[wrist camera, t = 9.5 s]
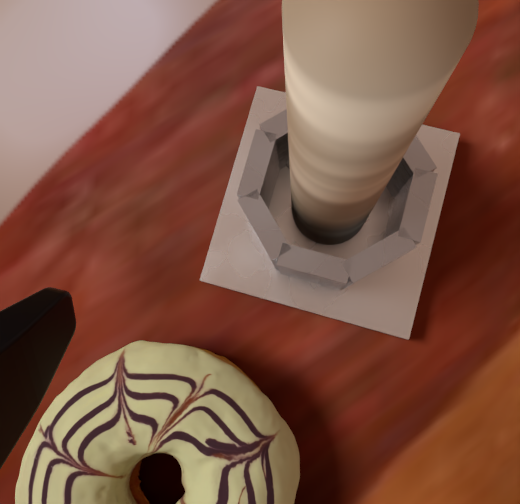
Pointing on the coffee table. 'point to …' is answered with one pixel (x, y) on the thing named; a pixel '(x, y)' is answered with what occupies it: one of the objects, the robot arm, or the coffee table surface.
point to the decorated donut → (160, 432)
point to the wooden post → (361, 98)
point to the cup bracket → (320, 255)
